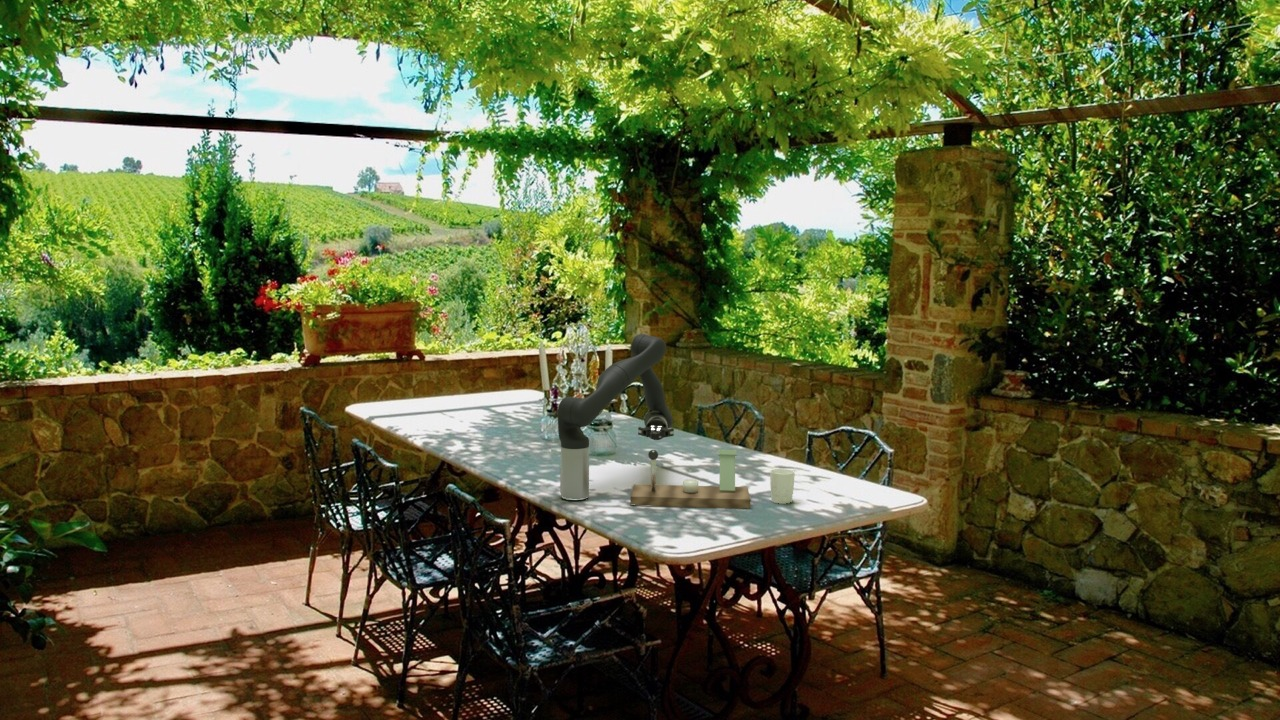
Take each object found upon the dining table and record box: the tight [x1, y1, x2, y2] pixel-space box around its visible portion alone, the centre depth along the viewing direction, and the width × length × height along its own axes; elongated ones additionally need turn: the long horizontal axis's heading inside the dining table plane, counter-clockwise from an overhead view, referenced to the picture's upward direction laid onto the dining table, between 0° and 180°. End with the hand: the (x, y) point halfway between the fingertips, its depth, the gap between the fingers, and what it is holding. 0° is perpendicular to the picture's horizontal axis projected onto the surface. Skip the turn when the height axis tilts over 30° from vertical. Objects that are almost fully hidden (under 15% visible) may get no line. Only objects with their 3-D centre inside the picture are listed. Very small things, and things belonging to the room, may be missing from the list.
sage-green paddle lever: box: [717, 449, 738, 491], centre depth 316 cm, size 6×2×13 cm, turn 87°
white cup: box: [769, 468, 796, 505], centre depth 314 cm, size 8×8×10 cm
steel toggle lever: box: [647, 449, 659, 491], centre depth 310 cm, size 3×3×16 cm
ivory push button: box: [682, 479, 699, 493], centre depth 314 cm, size 5×5×3 cm
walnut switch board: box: [630, 483, 751, 510], centre depth 314 cm, size 38×16×3 cm, turn 87°
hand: (655, 436), depth 323 cm, fingers closed
